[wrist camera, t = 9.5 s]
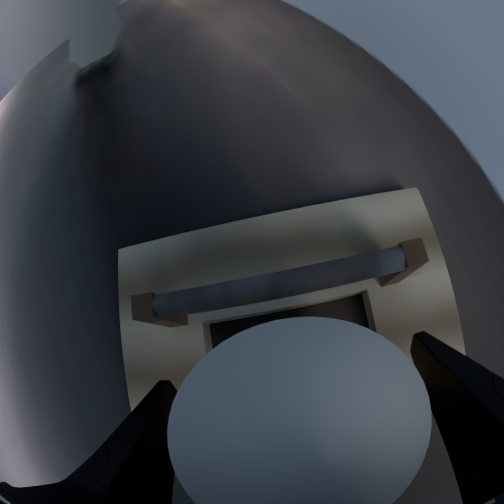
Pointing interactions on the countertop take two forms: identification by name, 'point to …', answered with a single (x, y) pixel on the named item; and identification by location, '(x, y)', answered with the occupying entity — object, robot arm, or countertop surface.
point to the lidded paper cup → (300, 417)
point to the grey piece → (282, 280)
